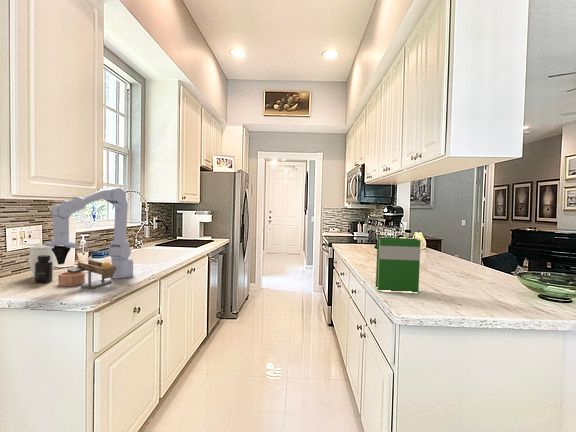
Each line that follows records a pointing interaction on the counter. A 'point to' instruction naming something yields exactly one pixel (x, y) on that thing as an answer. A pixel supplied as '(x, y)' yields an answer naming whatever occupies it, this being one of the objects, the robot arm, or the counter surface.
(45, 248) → the white tapered cylinder
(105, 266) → the ball
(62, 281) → the cup
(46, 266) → the supplement bottle
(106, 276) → the brown tray
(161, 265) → the counter surface
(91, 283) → the trough stand
